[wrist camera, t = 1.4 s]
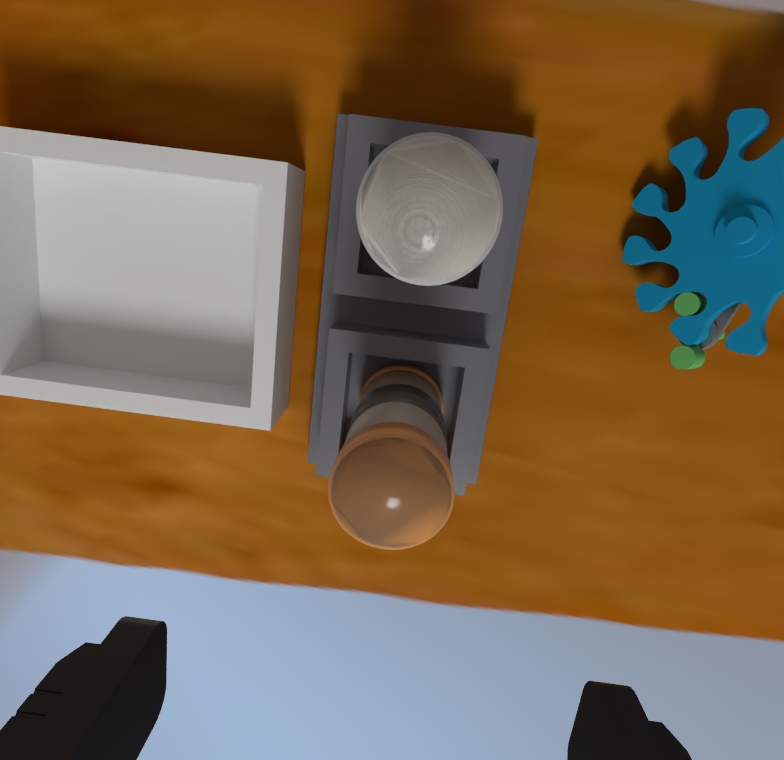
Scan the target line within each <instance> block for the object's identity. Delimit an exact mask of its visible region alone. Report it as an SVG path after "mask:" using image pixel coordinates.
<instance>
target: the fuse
mask: <svg viewBox="0 0 784 760" xmlns="http://www.w3.org/2000/svg"><path fill="white" fill-rule="evenodd" d="M502 215H503V199H502V192H501V188H500V184H499V181H498V179H497V176H496V174H495V172H494V170H493V168H492V167H491V165H490V163H489V162H488V161H487V159H486V158H485V157H484V156H483V155H482V154H481V153H480V152H479V151H478V150H477V149H476V148H475V147H473V146H472V145H470V144H469V143H468V142H466V141H464V140H462V139H460V138H458V137H455V136H452V135H449V134H444V133H437V132H426V133H418V134H413V135H409V136H407V137H404V138H402V139H400V140H398V141H396V142H394V143H392V144H391V145H390V146H388V147H387V148H385V149H384V150H383V151H382V152H381V153H380V154H379V155H378V156H377V157H376V158H375V159H374V161H373V162H372V163H371V164H370V166H369V168H368V169H367V171H366V173H365V175H364V177H363V179H362V181H361V184H360V188H359V191H358V196H357V202H356V218H357V225H358V230H359V234H360V236H361V239H362V242H363V244H364V246H365V248H366V250H367V251H368V253H369V254H370V256H371V257H372V259H373V260H374V261H375V262H376V263H377V264H378V265H379V266H380V267H381V268H382V269H383V270H384V271H386V272H387V273H389V274H390V275H392V276H393V277H395V278H397V279H399V280H401V281H404V282H407V283H410V284H415V285H423V286H433V285H441V284H446V283H449V282H452V281H455V280H457V279H459V278H461V277H463V276H465V275H466V274H468V273H469V272H471V271H472V270H473V269H475V268H476V267H477V266H478V265H479V264H480V263H481V262H482V261H483V260H484V259H485V258H486V256H487V255H488V253H489V252H490V250H491V249H492V247H493V245H494V243H495V241H496V239H497V236H498V234H499V231H500V227H501V223H502Z"/></svg>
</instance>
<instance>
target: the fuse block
mask: <svg viewBox="0 0 784 760" xmlns="http://www.w3.org/2000/svg"><path fill="white" fill-rule="evenodd" d="M426 132H437V133H444V134H449V135H452V136H455V137H458V138H460V139H462V140H464V141H466V142H468V143H469V144H470V145H472V146H473V147H475V148H476V149H477V150H478V151H479V152H480V153H481V154H482V155H483V156H484V157H485V158H486V159H487V161H488V162H489V163H490V165H491V167H492V168H493V170H494V172H495V174H496V176H497V179H498V181H499V184H500V188H501V192H502V199H503V215H502V223H501V227H500V231H499V234H498V236H497V239H496V241H495V243H494V245H493V247H492V249H491V250H490V252H489V253H488V255H487V256H486V258H485V259H484V260H483V261H482V262H481V263H480V264H479V265H478V266H477V267H476V268H475V269H473V270H472V271H471V272H469V273H468V274H466V275H465V276H463V277H461V278H459V279H457V280H455V281H452V282H449V283H446V284H441V285H433V286H423V285H415V284H410V283H407V282H404V281H401V280H399V279H397V278H395V277H393V276H392V275H390V274H389V273H387V272H386V271H384V270H383V269H382V268H381V267H380V266H379V265H378V264H377V263H376V262H375V261H374V260H373V259H372V257H371V256H370V254H369V253H368V251H367V250H366V248H365V246H364V244H363V242H362V239H361V236H360V234H359V230H358V225H357V218H356V202H357V196H358V191H359V188H360V184H361V181H362V179H363V177H364V175H365V173H366V171H367V169H368V168H369V166H370V164H371V163H372V162H373V161H374V159H375V158H376V157H377V156H378V155H379V154H380V153H381V152H382V151H383V150H384V149H385V148H387V147H388V146H390V145H391V144H392V143H394V142H396V141H398V140H400V139H402V138H404V137H407V136H409V135H413V134H418V133H426ZM538 139H539V138H531V137H528V136H525V135H517V134H509V133H501V132H493V131H484V130H476V129H468V128H460V127H452V126H444V125H436V124H428V123H420V122H412V121H404V120H396V119H388V118H380V117H372V116H364V115H356V114H349V115H346V114H338V115H337V127H336V138H335V150H334V161H333V173H332V184H331V196H330V207H329V219H328V231H327V242H326V254H325V265H324V277H323V288H322V300H321V311H320V323H319V334H318V346H317V357H316V369H315V380H314V392H313V403H312V415H311V426H310V438H309V449H308V461H307V462H310V463H317V468H316V476H324V477H330V475H331V472H332V469H333V466H334V464H335V461H336V458H337V456H338V454H339V452H340V450H341V448H342V447H343V445H344V444H345V439H346V435H347V432H348V429H349V426H350V424H351V421H352V418H353V415H354V412H355V410H356V408H357V405H358V399H359V396H360V393H361V390H362V387H363V385H364V383H365V381H366V380H367V378H368V377H369V376H370V375H371V374H372V373H373V372H374V371H375V370H377V369H378V368H380V367H382V366H384V365H386V364H389V363H394V362H407V363H412V364H415V365H418V366H420V367H422V368H423V369H425V370H426V371H428V372H429V373H430V374H431V375H432V376H433V377H434V379H435V380H436V382H437V383H438V385H439V387H440V390H441V394H442V400H443V418H444V424H445V432H446V439H447V456H448V458H449V461H450V464H451V469H452V475H453V482H454V493H455V494H457V495H465V492H466V486H467V484H474V485H476V482H477V476H478V471H479V465H480V460H481V454H482V448H483V443H484V437H485V432H486V426H487V421H488V415H489V410H490V404H491V399H492V393H493V388H494V382H495V377H496V371H497V366H498V360H499V355H500V349H501V344H502V338H503V332H504V327H505V321H506V316H507V310H508V305H509V299H510V294H511V288H512V283H513V277H514V272H515V266H516V261H517V255H518V250H519V244H520V239H521V233H522V227H523V222H524V216H525V211H526V205H527V200H528V194H529V189H530V183H531V178H532V172H533V167H534V161H535V156H536V150H537V145H538Z"/></svg>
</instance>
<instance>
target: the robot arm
mask: <svg viewBox="0 0 784 760" xmlns="http://www.w3.org/2000/svg"><path fill="white" fill-rule="evenodd" d="M166 659H167V627H166V623H165V622H163V621H156V620H148V619H141V618H134V617H127V616H126V617H123V618H121V619H120V620H119V621H118V622H117V623H116V625H115V626H114V628H113V629H112V630H111V631H110V633H109V634H108V635H107V637H106V638H105V639H104V641H103V642H102V643H101V644H93V643H85V644H83V645H82V646H80V647H79V648H77V649H76V650H74V651H73V652H71V653H70V654H69V655H67V656H66V657H64V658H63V659H61V660H60V661H58V662H57V663H56V664H55V666H54V667H53V668H52V669H51V670H50V671H49V673H48V674H47V675H46V676H45V677H44V679H43V680H42V681H41V682H40V684H39V685H38V686H37V687H36V688H35V691H34V693H33V694H30V695H29V697H28V698H27V699H26V700H25V702H24V703H23V704H22V705H21V706H20V707H19V709H18V710H17V713H16V715H15V716H14V717H13V716H12V717H11V719H9V721H8V722H7V723H6V724H5V726H4V727H3V728H2V729H1V730H0V760H136V759H137V757H138V756H139V754H140V752H141V750H142V748H143V746H144V744H145V742H146V740H147V739H148V737H149V735H150V733H151V731H152V729H153V727H154V725H155V723H156V721H157V719H158V716H159V713H160V711H161V708H162V704H163V700H164V696H165V690H166ZM568 760H692V759H691V757H690V755H689V754H688V752H687V750H686V749H685V748H684V747H683V746H682V745H681V743H680V742H679V741H678V740H677V739H676V738H675V737H674V736H673V734H672V733H671V732H670V731H669V730H668V729H667V728H666V727H665V726H664V725H663V723H661V722H654V721H648V718H647V716H646V714H645V712H644V710H643V708H642V706H641V704H640V702H639V700H638V697H637V695H636V694H635V692H634V690H633V689H632V688H631V687H629V686H624V685H616V684H609V683H602V682H594V681H588V682H587V683H586V684H585V686H584V689H583V692H582V696H581V700H580V703H579V707H578V710H577V714H576V718H575V721H574V725H573V729H572V732H571V736H570V740H569V744H568Z"/></svg>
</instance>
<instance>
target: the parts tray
mask: <svg viewBox="0 0 784 760" xmlns="http://www.w3.org/2000/svg"><path fill="white" fill-rule="evenodd" d="M304 185H305V171H303V170H301V169H300V168H298V167H296V166H294V165H292V164H290V163H288V162H281V161H273V160H265V159H257V158H249V157H241V156H233V155H225V154H217V153H209V152H201V151H193V150H185V149H177V148H169V147H162V146H154V145H146V144H138V143H130V142H122V141H114V140H106V139H98V138H90V137H82V136H74V135H66V134H58V133H50V132H42V131H34V130H26V129H19V128H11V127H3V126H0V395H6V396H14V397H21V398H29V399H36V400H44V401H51V402H59V403H66V404H74V405H81V406H89V407H96V408H104V409H111V410H119V411H126V412H134V413H141V414H149V415H156V416H164V417H171V418H179V419H186V420H194V421H201V422H209V423H216V424H224V425H231V426H239V427H246V428H254V429H261V430H269V431H270V430H271V429H272V428H273V426H274V425H275V424H276V422H277V421H278V420H279V418H280V417H281V416H282V414H283V413H284V412H285V410H286V409H287V408H288V400H289V387H290V373H291V360H292V346H293V333H294V320H295V306H296V293H297V279H298V266H299V252H300V239H301V225H302V212H303V198H304Z"/></svg>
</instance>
